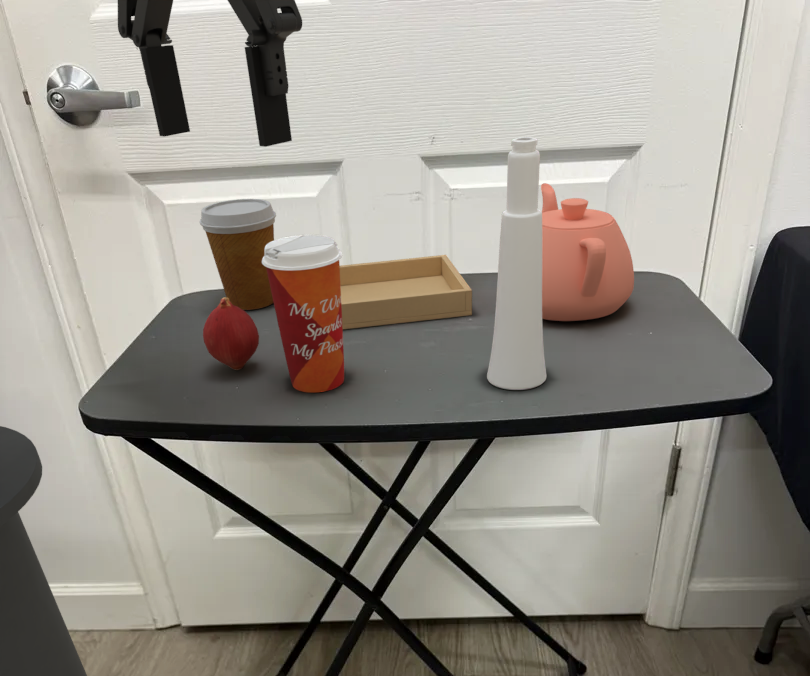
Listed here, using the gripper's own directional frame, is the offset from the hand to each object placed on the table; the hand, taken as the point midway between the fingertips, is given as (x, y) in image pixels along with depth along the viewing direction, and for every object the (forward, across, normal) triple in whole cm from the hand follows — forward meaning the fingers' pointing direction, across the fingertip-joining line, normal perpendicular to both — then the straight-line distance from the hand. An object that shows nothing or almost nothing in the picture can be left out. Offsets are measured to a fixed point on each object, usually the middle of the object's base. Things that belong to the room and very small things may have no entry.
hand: (222, 139), depth 64 cm
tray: (+24, +9, -28) cm, 38 cm away
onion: (+24, +9, -3) cm, 26 cm away
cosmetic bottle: (+24, -18, -18) cm, 35 cm away
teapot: (+24, -10, -39) cm, 47 cm away
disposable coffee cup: (+24, +25, -18) cm, 39 cm away
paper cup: (+24, -1, -6) cm, 25 cm away
